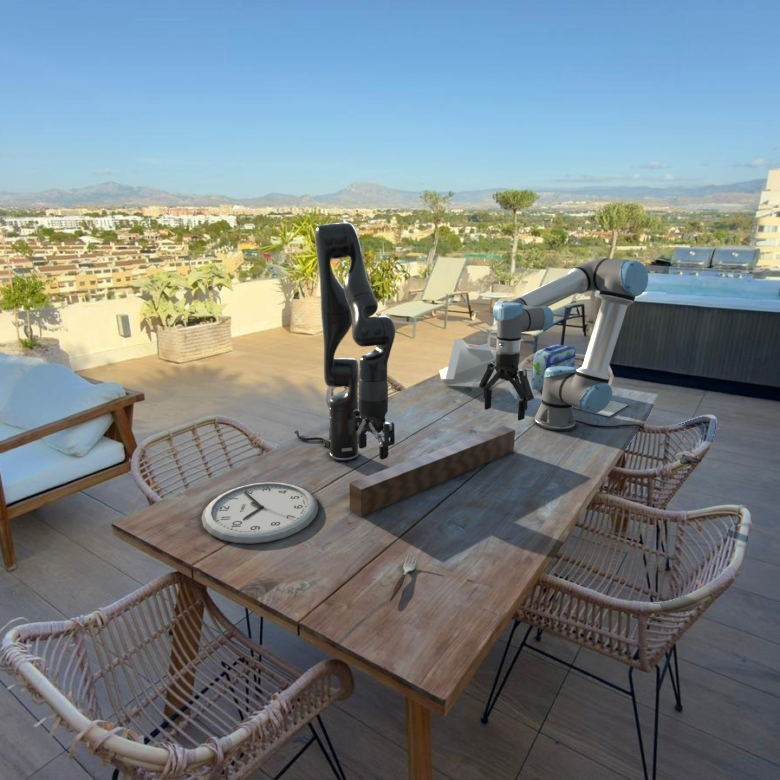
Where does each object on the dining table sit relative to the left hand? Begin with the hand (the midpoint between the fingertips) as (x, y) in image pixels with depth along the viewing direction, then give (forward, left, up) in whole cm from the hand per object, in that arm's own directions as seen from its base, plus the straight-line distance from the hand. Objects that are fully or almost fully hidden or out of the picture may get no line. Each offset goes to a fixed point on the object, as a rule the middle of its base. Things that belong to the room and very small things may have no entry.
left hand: (372, 452), depth 138 cm
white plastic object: (-59, +99, -16) cm, 116 cm away
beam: (-3, +27, -16) cm, 32 cm away
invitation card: (-16, +129, -16) cm, 131 cm away
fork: (+30, -12, -16) cm, 36 cm away
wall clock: (-14, -26, -16) cm, 34 cm away
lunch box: (-44, +132, -16) cm, 140 cm away
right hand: (-6, +56, -2) cm, 56 cm away
